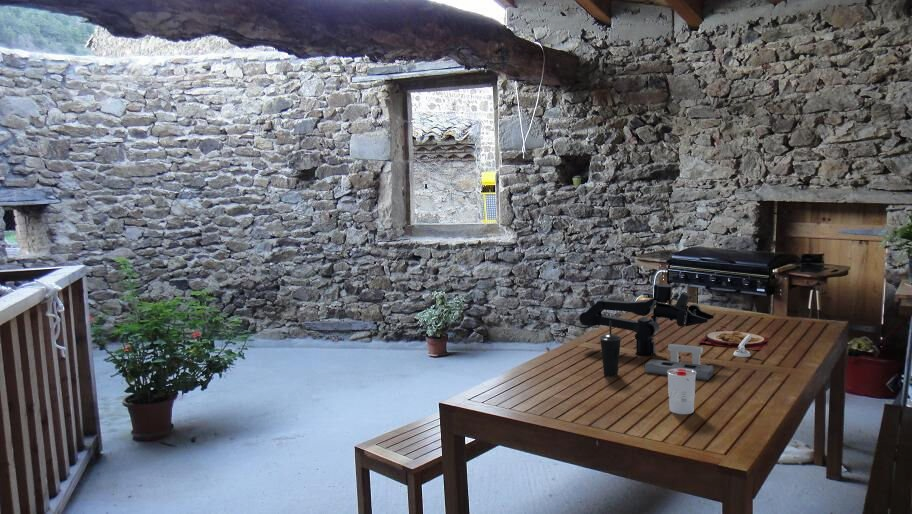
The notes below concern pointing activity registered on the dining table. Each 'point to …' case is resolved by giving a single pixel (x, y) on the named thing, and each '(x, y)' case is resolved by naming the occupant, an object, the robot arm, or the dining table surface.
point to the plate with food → (734, 339)
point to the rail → (662, 367)
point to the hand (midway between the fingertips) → (710, 318)
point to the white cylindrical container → (681, 390)
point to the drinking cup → (610, 352)
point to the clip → (677, 348)
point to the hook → (743, 348)
